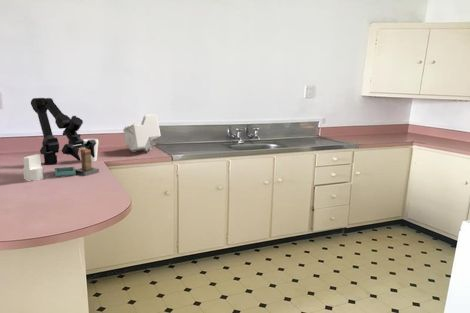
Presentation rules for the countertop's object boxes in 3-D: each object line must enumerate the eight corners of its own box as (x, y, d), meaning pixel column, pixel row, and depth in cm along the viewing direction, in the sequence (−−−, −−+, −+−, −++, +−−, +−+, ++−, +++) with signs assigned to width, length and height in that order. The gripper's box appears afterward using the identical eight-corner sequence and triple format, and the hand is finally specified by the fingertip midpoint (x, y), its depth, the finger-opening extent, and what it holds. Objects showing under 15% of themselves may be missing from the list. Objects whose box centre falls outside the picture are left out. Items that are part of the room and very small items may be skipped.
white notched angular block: (136, 152, 254) (129, 115, 255) (126, 156, 266) (119, 120, 267) (163, 149, 267) (156, 114, 269) (152, 153, 279) (146, 119, 280)
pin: (82, 172, 212) (80, 149, 209) (87, 171, 215) (86, 148, 212) (86, 174, 210) (84, 150, 208) (91, 172, 213) (90, 149, 210)
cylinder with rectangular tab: (35, 181, 194) (33, 158, 191) (19, 180, 196) (17, 157, 193) (47, 177, 203) (45, 154, 200) (32, 175, 204) (30, 153, 202)
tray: (55, 177, 202) (54, 172, 202) (54, 172, 211) (54, 168, 211) (75, 175, 207) (75, 171, 206) (74, 171, 216) (74, 166, 215)
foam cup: (88, 163, 234) (87, 142, 231) (80, 160, 239) (78, 140, 237) (102, 160, 241) (101, 140, 239) (93, 158, 247) (92, 138, 244)
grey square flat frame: (74, 173, 211) (74, 169, 211) (88, 169, 219) (88, 166, 218) (85, 175, 207) (85, 172, 206) (99, 172, 214) (99, 168, 214)
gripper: (81, 143, 226) (95, 164, 223) (52, 147, 210) (66, 170, 207) (89, 131, 220) (103, 152, 217) (59, 135, 205) (74, 158, 201)
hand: (87, 158), depth 211 cm, fingers open, 9 cm apart
